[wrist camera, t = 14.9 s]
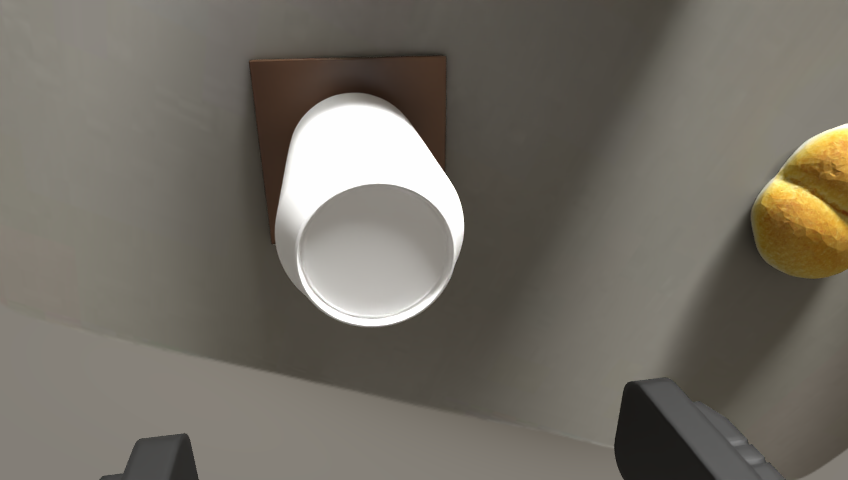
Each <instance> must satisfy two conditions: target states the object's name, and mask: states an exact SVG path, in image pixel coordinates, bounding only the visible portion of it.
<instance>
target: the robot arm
mask: <svg viewBox="0 0 848 480" xmlns="http://www.w3.org/2000/svg"><path fill="white" fill-rule="evenodd" d="M614 450H615V457H616V462H617V466H618V468H619V471H620V473H621V475H622V477H623V479H624V480H786V479H785V478H784V477H783V476H782V475H781V474H780V473H779V472H778V471H777V470H776V469H775V468H774V467H773V466H772V465H771V463H770V462H769V463H767V462H766V461H765V457H764V456H763V455H762V454H761V453H760V452H759V451H758V450H757V449H756V448H755V447H754V446H753V445H752V444H750V445H749V443H748V440H747V438H746V437H745V436H744V435H743V434H742V433H741V432H740V431H739V430H738V429H737V428H736V427H735V426H734V425H733V424H732V423H731V422H730V421H729V420H728V419H727V418H726V417H724V416H723V415H721V414H719V413H718V412H716V411H715V410H713V409H711V408H710V407H708V406H706V405H705V404H703V403H702V402H700V401H698V402H692V401H691V400H690V399H689V397H688V396H687V395H686V394H685V393H684V392H683V391H682V390H681V389H680V388H679V387H678V385H677V384H676V383H675V382H674V381H673V380H671V379H669V378H656V379H648V380H640V381H631V382H628V383H627V384H626V385H625V387H624V391H623V396H622V402H621V408H620V413H619V419H618V425H617V431H616V437H615V444H614ZM100 480H199V479H198V474H197V470H196V465H195V461H194V456H193V451H192V447H191V442H190V439H189V437H188V435H187V434H185V433H184V434H177V435H168V436H160V437H151V438H142V439H139V440H138V441H137V442H136V444H135V446H134V448H133V450H132V453H131V455H130V458H129V461H128V463H127V466H126V468H125V471H124V473H123V474H115V475H107V476H102V478H101V479H100Z"/></svg>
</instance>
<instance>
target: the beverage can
mask: <svg viewBox="0 0 848 480" xmlns="http://www.w3.org/2000/svg"><path fill="white" fill-rule="evenodd" d="M463 236H464V217H463V211H462V207H461V203H460V200H459V197H458V195H457V193H456V191H455V189H454V187H453V185H452V183H451V182H450V180H449V179H448V177H447V176H446V174H445V173H444V171H443V170H442V168H441V167H440V165H439V164H438V162H437V161H436V159H435V158H434V156H433V155H432V154H431V152H430V151H429V149H428V148H427V146H426V145H425V143H424V142H423V140H422V139H421V137H420V136H419V134H418V133H417V132H416V130H415V129H414V127H413V126H412V124H411V123H410V122H409V120H408V119H407V118H406V117H405V116H404V114H403V113H402V112H401V111H400V110H399V109H397V108H396V107H395V106H394V105H392V104H391V103H389V102H387V101H386V100H384V99H381V98H379V97H376V96H373V95H370V94H365V93H343V94H338V95H335V96H332V97H329V98H327V99H325V100H323V101H321V102H319V103H318V104H316V105H315V106H314V107H312V108H311V109H310V110H309V111H308V112H307V113H306V114H305V115H304V116H303V117H302V119H301V120H300V121H299V123H298V125H297V126H296V128H295V130H294V133H293V135H292V138H291V141H290V145H289V150H288V155H287V160H286V166H285V171H284V176H283V182H282V187H281V193H280V198H279V204H278V209H277V215H276V222H275V242H276V248H277V253H278V256H279V259H280V262H281V264H282V266H283V268H284V270H285V272H286V274H287V275H288V277H289V278H290V280H291V281H292V282H293V284H294V285H295V286H296V287H297V288H298V289H299V290H300V291H301V292H302V293H303V294H304V295H305V296H307V297H308V298H309V300H310V301H311V302H312V303H313V304H314V305H315V306H316V307H317V308H318V309H319V310H321V311H322V312H323V313H325V314H326V315H328V316H330V317H331V318H333V319H335V320H338V321H340V322H343V323H346V324H349V325H353V326H359V327H384V326H390V325H394V324H398V323H401V322H403V321H406V320H408V319H410V318H412V317H414V316H416V315H418V314H419V313H421V312H423V311H424V310H425V309H427V308H428V307H429V306H430V305H431V304H432V303H433V302H434V301H435V300H436V299H437V298H438V297H439V296H440V295H441V293H442V292H443V291H444V289H445V287H446V286H447V284H448V282H449V280H450V278H451V275H452V273H453V270H454V266H455V263H456V261H457V259H458V256H459V253H460V250H461V247H462V242H463Z"/></svg>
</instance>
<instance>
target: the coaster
mask: <svg viewBox="0 0 848 480" xmlns="http://www.w3.org/2000/svg"><path fill="white" fill-rule="evenodd" d="M249 66H250V74H251V82H252V90H253V98H254V106H255V114H256V122H257V130H258V138H259V146H260V154H261V162H262V171H263V179H264V187H265V195H266V203H267V211H268V219H269V227H270V235H271V243H272V244H276V242H275V222H276V215H277V209H278V204H279V198H280V193H281V187H282V182H283V176H284V171H285V166H286V160H287V155H288V150H289V145H290V141H291V138H292V135H293V133H294V130H295V128H296V126H297V125H298V123H299V121H300V120H301V119H302V117H303V116H304V115H305V114H306V113H307V112H308V111H309V110H310V109H311V108H312V107H314V106H315V105H316V104H318V103H319V102H321V101H323V100H325V99H327V98H329V97H332V96H335V95H338V94H343V93H365V94H370V95H373V96H376V97H379V98H381V99H384V100H386V101H387V102H389V103H391V104H392V105H394V106H395V107H396V108H397V109H399V110H400V111H401V112H402V113H403V114H404V116H405V117H406V118H407V119H408V120H409V122H410V123H411V124H412V126H413V127H414V129H415V130H416V132H417V133H418V134H419V136H420V137H421V139H422V140H423V142H424V143H425V145H426V146H427V148H428V149H429V151H430V152H431V154H432V155H433V156H434V158H435V159H436V161H437V162H438V164H439V165H440V167H441V168H442V170H443V171H444V173H445V137H446V56H445V55H426V56H385V57H344V58H302V59H261V60H250V61H249Z"/></svg>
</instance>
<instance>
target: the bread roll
mask: <svg viewBox="0 0 848 480" xmlns="http://www.w3.org/2000/svg"><path fill="white" fill-rule="evenodd" d="M751 223H752V229H753V234H754V239H755V243H756V246H757V249H758V251H759V253H760V255H761V256H762V258H763V259H764V260H765V262H767V263H768V264H770V265H771V266H772V267H774V268H775V269H777V270H780V271H782V272H784V273H786V274H788V275H791V276H794V277H800V278H810V279H817V278H824V277H829V276H832V275H835V274H838V273H841V272H843V271H844V270H846V269H848V124H845V125H841V126H838V127H836V128H833V129H830V130H828V131H825V132H823V133H821V134H818V135H816V136H814V137H812V138H810V139H809V140H807V141H806V142H804V143H803V144H802V145H801V146H800V147H799V148H798V149H797V150H796V151H795V152H794V153H793V154H792V155H791V156H790V157H789V159H788V160H787V161H786V163H785V164H784V165H783V166H782V167H781V169H780V170H779V173H778V174H777V175H776V176H775V177H774V178H773V179H771V180H770V181H769V182H768V183H767V184H766V186H765V187H764V188H763V189H762V191H761V192H760V193H759V195H758V196H757V198H756V200H755V202H754V204H753V207H752V210H751Z"/></svg>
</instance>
